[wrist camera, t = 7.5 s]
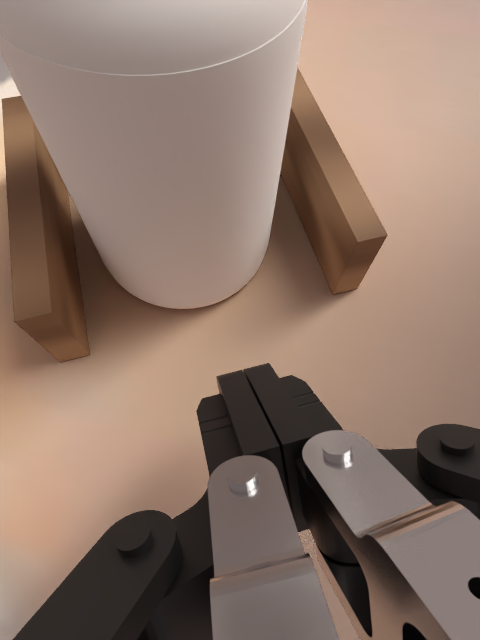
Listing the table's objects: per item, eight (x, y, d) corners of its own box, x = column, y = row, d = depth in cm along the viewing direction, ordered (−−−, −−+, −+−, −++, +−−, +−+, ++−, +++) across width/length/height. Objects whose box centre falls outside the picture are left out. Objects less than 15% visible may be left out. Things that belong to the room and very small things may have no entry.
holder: (357, 288, 19) (387, 235, 15) (60, 362, 17) (14, 321, 13) (280, 124, 23) (289, 53, 20) (40, 168, 21) (2, 99, 18)
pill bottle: (210, 347, 17) (140, -240, 4) (68, 261, 19) (-333, -358, 5) (299, 222, 20) (437, -358, 7) (169, 158, 22) (71, -410, 8)
